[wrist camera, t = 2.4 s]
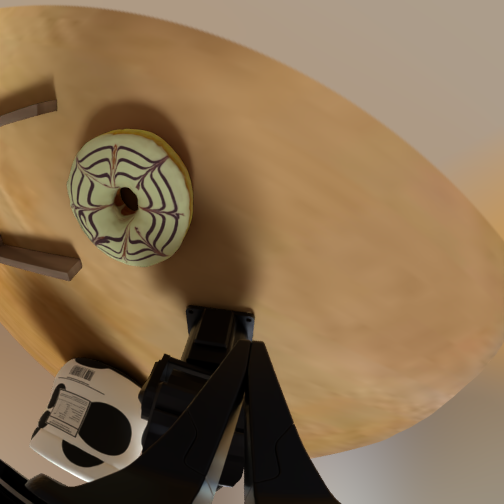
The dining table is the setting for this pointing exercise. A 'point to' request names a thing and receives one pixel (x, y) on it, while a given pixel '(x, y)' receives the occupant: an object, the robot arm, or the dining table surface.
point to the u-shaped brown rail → (29, 258)
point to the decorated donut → (141, 183)
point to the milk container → (91, 420)
